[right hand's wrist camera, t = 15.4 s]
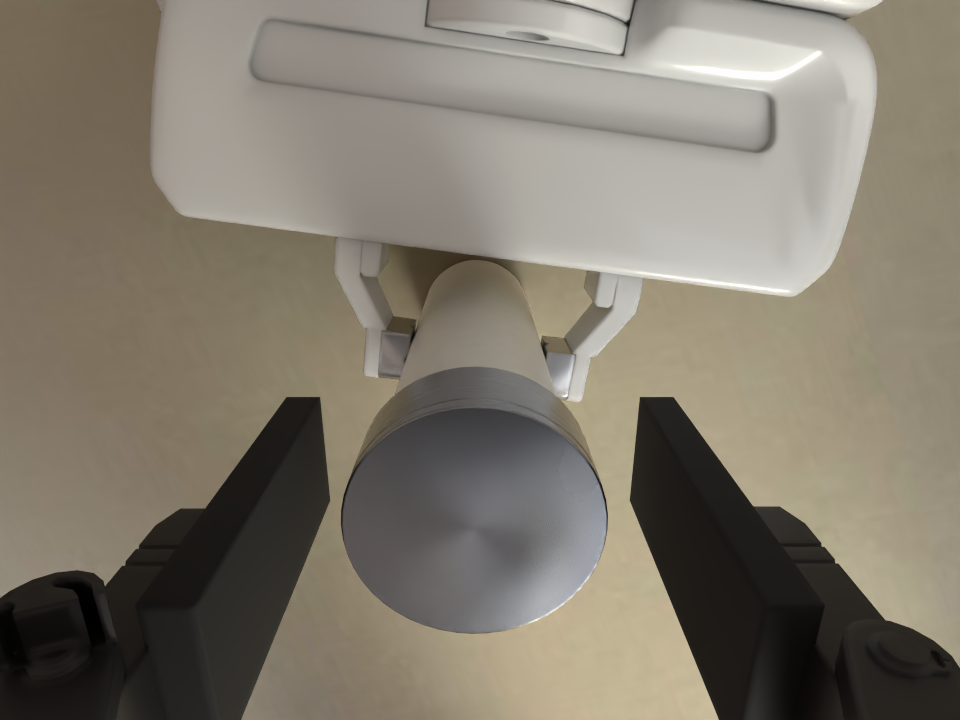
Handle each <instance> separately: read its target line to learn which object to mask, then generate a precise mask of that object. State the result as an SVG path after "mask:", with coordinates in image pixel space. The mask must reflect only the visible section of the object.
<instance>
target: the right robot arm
mask: <svg viewBox="0 0 960 720" xmlns="http://www.w3.org/2000/svg"><path fill="white" fill-rule="evenodd" d="M329 502H330V495H329V484H328V474H327V464H326V454H325V443H324V433H323V423H322V413H321V403H320V397H286V399H285V400H284V401H283V403H282V404H281V406H280V407H279V408H278V410H277V411H276V412H275V414H274V415H273V417H272V418H271V419H270V421H269V422H268V423H267V425H266V426H265V427H264V429H263V430H262V432H261V433H260V434H259V436H258V437H257V438H256V440H255V441H254V443H253V444H252V445H251V447H250V448H249V449H248V451H247V452H246V454H245V455H244V456H243V458H242V459H241V460H240V462H239V463H238V465H237V466H236V467H235V469H234V470H233V471H232V473H231V474H230V475H229V477H228V478H227V480H226V481H225V482H224V484H223V485H222V486H221V488H220V489H219V491H218V492H217V493H216V495H215V496H214V497H213V499H212V500H211V502H210V503H209V504H208V506H207V507H206V508H205V509H179V510H178V511H176V512H175V513H173V514H172V515H170V516H169V517H167V518H166V519H164V520H163V521H161V522H160V523H158V524H157V525H156V526H155V527H154V528H153V529H152V530H151V532H150V533H149V534H148V535H147V536H146V538H145V539H144V540H143V541H142V542H141V544H140V545H139V549H136V550H135V551H134V552H133V553H132V555H131V556H130V557H129V558H128V559H127V561H126V565H125V566H122V567H121V568H120V569H119V570H118V572H117V573H116V574H115V575H114V576H113V578H112V579H111V580H110V581H109V583H108V584H107V585H106V586H105V585H104V582H103V580H102V579H100V578H99V577H98V576H97V575H95V574H94V573H90V572H84V571H78V570H76V571H67V572H57V573H53V574H50V575H47V576H43V577H40V578H37V579H34V580H31V581H29V582H27V583H25V584H23V585H21V586H19V587H17V588H15V589H13V590H11V591H9V592H8V593H7V594H5V595H4V596H3V597H1V598H0V720H241V718H242V716H243V713H244V711H245V708H246V706H247V703H248V701H249V698H250V696H251V694H252V691H253V689H254V686H255V684H256V681H257V679H258V676H259V674H260V671H261V669H262V667H263V664H264V662H265V659H266V657H267V654H268V652H269V649H270V647H271V644H272V642H273V639H274V637H275V635H276V632H277V630H278V627H279V625H280V622H281V620H282V617H283V615H284V612H285V610H286V608H287V605H288V603H289V600H290V598H291V595H292V593H293V590H294V588H295V585H296V583H297V581H298V578H299V576H300V573H301V571H302V568H303V566H304V563H305V561H306V558H307V556H308V553H309V551H310V549H311V546H312V544H313V541H314V539H315V536H316V534H317V531H318V529H319V526H320V524H321V522H322V519H323V517H324V514H325V512H326V509H327V507H328V504H329ZM630 502H631V504H632V507H633V509H634V512H635V514H636V517H637V519H638V522H639V524H640V526H641V529H642V531H643V534H644V536H645V539H646V541H647V544H648V546H649V549H650V551H651V553H652V556H653V558H654V561H655V563H656V566H657V568H658V571H659V573H660V576H661V578H662V581H663V583H664V585H665V588H666V590H667V593H668V595H669V598H670V600H671V603H672V605H673V608H674V610H675V612H676V615H677V617H678V620H679V622H680V625H681V627H682V630H683V632H684V635H685V637H686V639H687V642H688V644H689V647H690V649H691V652H692V654H693V657H694V659H695V662H696V664H697V667H698V669H699V671H700V674H701V676H702V679H703V681H704V684H705V686H706V689H707V691H708V694H709V696H710V698H711V701H712V703H713V706H714V708H715V711H716V713H717V716H718V718H719V720H960V668H959V666H958V665H957V663H956V662H955V660H954V659H953V657H952V656H951V655H950V654H949V653H948V652H946V651H945V650H944V649H943V648H942V647H940V646H939V645H938V644H937V643H936V642H935V641H933V640H931V639H930V638H928V637H926V636H924V635H922V634H921V633H919V632H917V631H915V630H913V629H911V628H909V627H906V626H903V625H900V624H897V623H894V622H891V621H885V619H884V618H883V617H882V616H881V615H880V613H879V612H878V611H877V610H876V609H875V607H874V606H873V605H872V604H871V603H870V601H869V600H868V599H867V598H866V597H865V595H864V594H863V593H862V592H861V590H860V589H859V588H858V587H857V586H856V584H855V583H854V582H853V581H852V580H851V578H850V577H849V576H848V575H847V574H846V572H845V571H844V570H843V569H842V568H841V566H840V565H839V564H835V559H834V558H833V557H832V556H831V554H830V553H829V552H828V551H827V550H826V548H825V547H822V546H821V542H820V541H819V540H818V539H817V537H816V536H815V535H814V534H813V533H812V531H811V530H810V529H809V528H808V527H807V525H806V524H805V523H803V522H802V521H800V520H799V519H797V518H796V517H794V516H793V515H791V514H790V513H788V512H787V511H785V510H784V509H782V508H781V507H753V506H752V504H751V503H750V502H749V500H748V499H747V497H746V496H745V495H744V493H743V492H742V491H741V489H740V488H739V486H738V485H737V484H736V482H735V481H734V480H733V478H732V477H731V475H730V474H729V473H728V471H727V470H726V469H725V467H724V466H723V465H722V463H721V462H720V460H719V459H718V458H717V456H716V455H715V454H714V452H713V451H712V449H711V448H710V447H709V445H708V444H707V443H706V441H705V440H704V438H703V437H702V436H701V434H700V433H699V432H698V430H697V429H696V427H695V426H694V425H693V423H692V422H691V421H690V419H689V418H688V417H687V415H686V414H685V412H684V411H683V410H682V408H681V407H680V406H679V404H678V403H677V401H676V400H675V399H674V397H640V403H639V413H638V423H637V433H636V443H635V454H634V464H633V474H632V484H631V495H630Z"/></svg>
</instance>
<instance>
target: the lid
mask: <svg viewBox="0 0 960 720" xmlns="http://www.w3.org/2000/svg"><path fill="white" fill-rule="evenodd" d="M607 524H608V512H607V504H606V498H605V495H604V491H603V488H602V484H601V482H600V479H599V476H598V473H597V470H596V468H595V465H594V462H593V459H592V456H591V454H590V451H589V448H588V445H587V442H586V440H585V437H584V435H583V432H582V430H581V428H580V426H579V424H578V422H577V421H576V419H575V418H574V416H573V414H572V413H571V412H570V410H569V409H568V408H567V407H566V406H565V405H564V403H563V402H562V401H561V400H560V399H558V398H557V397H556V396H555V395H554V394H553V393H552V392H550V391H549V390H548V389H546V388H545V387H543V386H542V385H540V384H538V383H537V382H535V381H533V380H531V379H529V378H527V377H525V376H522V375H519V374H516V373H513V372H510V371H506V370H501V369H497V368H489V367H460V368H454V369H448V370H443V371H440V372H437V373H433V374H430V375H428V376H426V377H423V378H421V379H419V380H417V381H415V382H413V383H411V384H410V385H408V386H407V387H405V388H403V389H402V390H401V391H399V392H398V393H397V394H396V395H395V396H393V397H392V398H391V399H390V400H389V401H388V402H387V403H386V404H385V405H384V406H383V408H382V409H381V410H380V411H379V413H378V414H377V416H376V417H375V418H374V420H373V422H372V424H371V426H370V428H369V430H368V432H367V434H366V436H365V439H364V442H363V444H362V447H361V450H360V452H359V455H358V457H357V460H356V463H355V465H354V468H353V471H352V473H351V476H350V479H349V481H348V484H347V487H346V490H345V493H344V497H343V503H342V509H341V528H342V535H343V541H344V544H345V548H346V551H347V554H348V557H349V559H350V561H351V563H352V565H353V567H354V569H355V571H356V572H357V574H358V575H359V577H360V579H361V580H362V581H363V583H364V584H365V585H366V586H367V587H368V588H369V590H370V591H371V592H372V593H373V594H374V595H375V596H376V597H377V598H379V599H380V600H381V601H382V602H383V603H384V604H386V605H387V606H389V607H390V608H391V609H393V610H394V611H396V612H397V613H399V614H401V615H403V616H405V617H407V618H408V619H410V620H413V621H415V622H418V623H420V624H423V625H425V626H429V627H432V628H436V629H439V630H444V631H450V632H456V633H471V634H475V633H492V632H499V631H505V630H509V629H513V628H517V627H521V626H523V625H526V624H529V623H532V622H534V621H536V620H538V619H540V618H542V617H544V616H546V615H548V614H550V613H552V612H553V611H555V610H556V609H558V608H559V607H561V606H562V605H563V604H565V603H566V602H567V601H568V600H569V599H570V598H572V597H573V596H574V595H575V594H576V593H577V592H578V591H579V590H580V588H581V587H582V586H583V585H584V584H585V583H586V581H587V580H588V578H589V577H590V575H591V574H592V573H593V571H594V569H595V567H596V565H597V563H598V561H599V559H600V556H601V553H602V550H603V548H604V545H605V540H606V534H607Z"/></svg>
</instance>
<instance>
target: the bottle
mask: <svg viewBox="0 0 960 720" xmlns="http://www.w3.org/2000/svg"><path fill="white" fill-rule="evenodd" d="M460 367H489V368H497V369H501V370H506V371H510V372H513V373H516V374H519V375H522V376H525V377H527V378H529V379H531V380H533V381H535V382H537V383H538V384H540V385H542V386H543V387H545V388H546V389H548V390H549V391H550V392H552V393H553V394H554V395H555V396H556V393H555V390H554V387H553V383H552V380H551V377H550V373H549V370H548V367H547V364H546V360H545V357H544V354H543V351H542V347H541V344H540V341H539V337H538V334H537V331H536V328H535V324H534V321H533V318H532V314H531V311H530V308H529V305H528V301H527V298H526V295H525V292H524V290H523V288H522V286H521V284H520V283H519V281H518V280H517V279H516V277H515V276H514V275H513V274H512V273H511V272H510V271H508V270H507V269H505V268H504V267H502V266H500V265H498V264H496V263H493V262H489V261H485V260H469V261H463V262H460V263H457V264H455V265H453V266H451V267H449V268H448V269H446V270H445V271H444V272H442V273H441V274H440V275H439V276H438V277H437V278H436V280H435V281H434V282H433V284H432V286H431V288H430V290H429V292H428V295H427V298H426V301H425V304H424V307H423V310H422V313H421V316H420V319H419V322H418V325H417V328H416V332H415V335H414V338H413V341H412V344H411V347H410V350H409V353H408V356H407V359H406V362H405V365H404V368H403V371H402V374H401V377H400V381H399V384H398V387H397V390H396V393H395V395H396V394H397V393H398V392H399V391H401V390H402V389H403V388H405V387H407V386H408V385H410V384H411V383H413V382H415V381H417V380H419V379H421V378H423V377H426V376H428V375H430V374H433V373H437V372H440V371H443V370H448V369H454V368H460ZM556 397H557V396H556Z"/></svg>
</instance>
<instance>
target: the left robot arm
mask: <svg viewBox="0 0 960 720" xmlns="http://www.w3.org/2000/svg"><path fill="white" fill-rule="evenodd" d="M156 1H157V4H158V6H159V9H160V12H161V19H160V26H159V33H158V41H157V49H156V57H155V65H154V77H153V89H152V101H151V122H150V167H151V174H152V177H153V179H154V181H155V183H156V184H157V186H158V187H159V188H160V190H161V191H162V193H163V194H164V195H165V197H166V198H167V200H168V201H169V202H170V204H171V205H172V206H173V207H174V209H175V210H176V211H177V212H178V213H179V214H181V215H183V216H187V217H193V218H200V219H207V220H215V221H222V222H230V223H237V224H245V225H252V226H260V227H267V228H275V229H282V230H290V231H297V232H305V233H312V234H320V235H327V236H334V237H336V247H335V265H334V274H335V275H336V277H337V279H338V281H339V283H340V285H341V287H342V289H343V291H344V293H345V295H346V297H347V299H348V301H349V303H350V304H351V306H352V308H353V310H354V312H355V314H356V316H357V318H358V320H359V322H360V324H361V326H362V327H363V328H366V339H365V352H364V366H363V372H364V376H370V377H376V378H379V377H380V378H390V379H399V380H400V377H401V374H402V371H403V368H404V365H405V362H406V359H407V356H408V353H409V350H410V347H411V344H412V341H413V338H414V335H415V327H416V320H415V319H409V318H402V317H395V316H393V313H392V311H391V309H390V306H389V304H388V302H387V300H386V297H385V295H384V293H383V291H382V288H381V286H380V284H379V282H378V280H377V277H376V276H377V275H378V274H379V273H380V272H381V271H382V269H383V268H384V267H385V265H386V264H387V263H388V258H389V247H390V244H394V245H402V246H409V247H417V248H424V249H432V250H439V251H447V252H454V253H462V254H469V255H477V256H484V257H492V258H499V259H507V260H514V261H522V262H529V263H537V264H544V265H552V266H559V267H567V268H574V269H582V270H587V272H586V278H585V284H584V289H585V290H586V292H587V293H588V295H589V296H590V297H591V299H592V300H593V303H592V304H591V305H590V306H589V308H588V309H587V310H586V311H585V313H584V314H583V315H582V316H581V317H580V319H579V320H578V321H577V322H576V324H575V325H574V326H573V327H572V328H571V330H570V331H569V332H568V333H567V335H566V336H565V338H559V337H549V336H542V339H541V347H542V351H543V354H544V357H545V360H546V364H547V367H548V370H549V373H550V377H551V380H552V383H553V387H554V390H555V393H556V396H557V398H558V399H560V400H564V401H573V402H580V401H581V399H582V397H583V393H584V388H585V384H586V379H587V374H588V369H589V364H590V360H591V357H595V356H596V355H597V354H598V353H599V352H600V351H601V350H602V349H603V348H604V347H605V346H606V344H607V343H608V342H609V341H610V340H611V339H612V338H613V337H614V336H615V335H616V334H617V333H618V332H619V330H620V329H621V328H622V327H623V326H624V325H625V324H626V323H627V322H628V321H629V320H630V319H631V318H632V316H633V315H634V314H635V313H636V311H637V306H638V302H639V298H640V294H641V289H642V285H643V281H644V278H649V279H657V280H664V281H672V282H679V283H687V284H694V285H701V286H709V287H716V288H724V289H731V290H739V291H746V292H754V293H761V294H769V295H776V296H784V297H792V296H796V295H798V294H799V293H800V292H802V291H803V290H805V289H806V288H807V287H808V286H810V285H811V284H812V283H813V282H814V281H816V280H817V279H818V278H819V277H820V276H821V275H823V274H824V273H825V272H826V271H827V270H828V269H829V268H830V266H831V265H832V263H833V261H834V259H835V257H836V255H837V252H838V250H839V247H840V244H841V241H842V239H843V236H844V233H845V230H846V226H847V223H848V220H849V216H850V213H851V210H852V207H853V203H854V200H855V196H856V192H857V189H858V185H859V181H860V177H861V173H862V169H863V165H864V161H865V157H866V153H867V148H868V143H869V139H870V134H871V129H872V124H873V119H874V113H875V107H876V99H877V70H876V63H875V59H874V56H873V53H872V50H871V48H870V46H869V44H868V42H867V41H866V39H865V38H864V36H863V35H862V34H861V33H860V32H859V31H858V30H857V29H856V28H855V27H854V26H853V25H851V24H850V23H848V22H846V21H845V20H846V19H848V18H851V17H853V16H855V15H857V14H860V13H862V12H864V11H866V10H868V9H870V8H872V7H874V6H876V5H878V4H879V3H881V2H882V1H883V0H156Z"/></svg>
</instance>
